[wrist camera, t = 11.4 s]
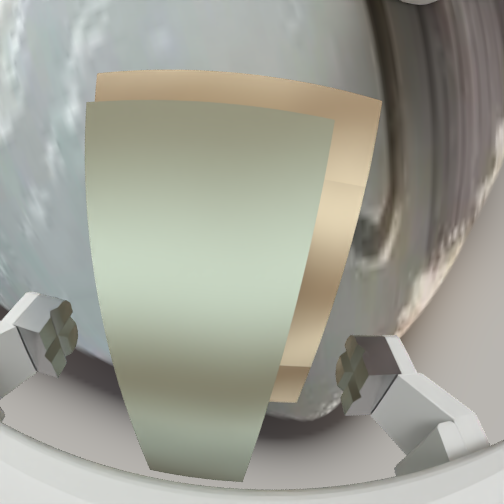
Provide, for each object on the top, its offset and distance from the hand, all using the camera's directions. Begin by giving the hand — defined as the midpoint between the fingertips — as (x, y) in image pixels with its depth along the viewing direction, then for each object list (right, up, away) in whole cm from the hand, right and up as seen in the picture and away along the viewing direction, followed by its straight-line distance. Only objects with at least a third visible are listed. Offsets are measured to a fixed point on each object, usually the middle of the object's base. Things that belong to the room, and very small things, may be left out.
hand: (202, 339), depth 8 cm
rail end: (0, +3, +6) cm, 7 cm away
